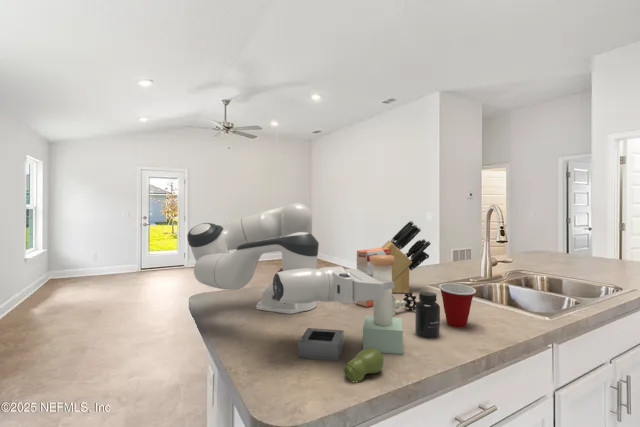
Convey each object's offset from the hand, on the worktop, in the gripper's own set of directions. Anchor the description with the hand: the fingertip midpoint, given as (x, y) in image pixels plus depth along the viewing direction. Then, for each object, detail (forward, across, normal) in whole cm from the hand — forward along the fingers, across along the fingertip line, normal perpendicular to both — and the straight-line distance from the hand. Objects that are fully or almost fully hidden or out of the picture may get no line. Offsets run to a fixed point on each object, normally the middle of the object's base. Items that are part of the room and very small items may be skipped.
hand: (385, 280), depth 92 cm
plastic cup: (+28, -9, -18) cm, 34 cm away
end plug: (-1, 0, -11) cm, 11 cm away
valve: (+16, -24, -18) cm, 34 cm away
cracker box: (+12, -38, -18) cm, 44 cm away
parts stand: (-1, 0, -18) cm, 18 cm away
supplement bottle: (+15, -4, -18) cm, 23 cm away
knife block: (+25, -54, -18) cm, 62 cm away
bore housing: (-18, 0, -18) cm, 25 cm away
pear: (-12, +14, -18) cm, 25 cm away
